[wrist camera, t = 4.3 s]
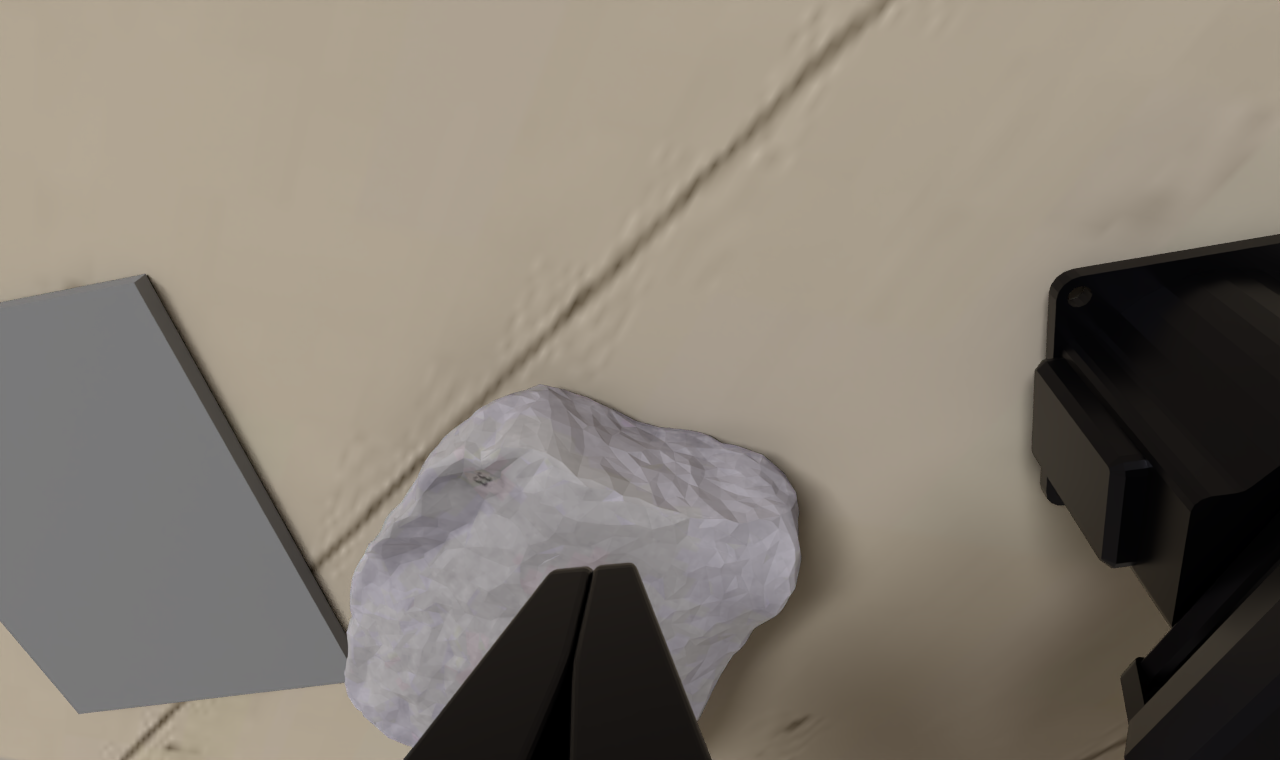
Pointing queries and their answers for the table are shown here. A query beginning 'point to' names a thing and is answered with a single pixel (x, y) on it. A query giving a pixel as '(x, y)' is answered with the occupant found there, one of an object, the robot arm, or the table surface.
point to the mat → (140, 517)
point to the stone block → (564, 546)
